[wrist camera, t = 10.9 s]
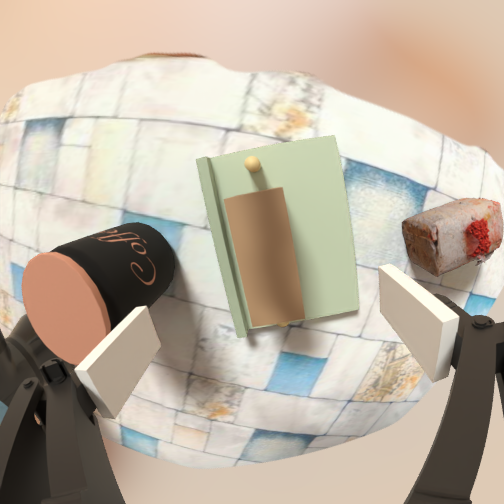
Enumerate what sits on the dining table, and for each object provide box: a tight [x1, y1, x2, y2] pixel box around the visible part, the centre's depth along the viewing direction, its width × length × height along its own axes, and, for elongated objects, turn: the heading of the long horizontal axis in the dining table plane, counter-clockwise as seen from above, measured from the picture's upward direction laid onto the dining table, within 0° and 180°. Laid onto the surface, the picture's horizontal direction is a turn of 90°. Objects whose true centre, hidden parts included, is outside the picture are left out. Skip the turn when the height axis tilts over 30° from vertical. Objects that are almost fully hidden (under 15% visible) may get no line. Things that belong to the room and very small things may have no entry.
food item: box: [402, 198, 503, 277], centre depth 27 cm, size 14×8×10 cm, turn 110°
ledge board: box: [196, 135, 359, 338], centre depth 32 cm, size 16×22×4 cm
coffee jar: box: [22, 222, 175, 365], centre depth 27 cm, size 11×11×18 cm
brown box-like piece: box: [224, 187, 305, 327], centre depth 28 cm, size 5×12×9 cm, turn 11°
